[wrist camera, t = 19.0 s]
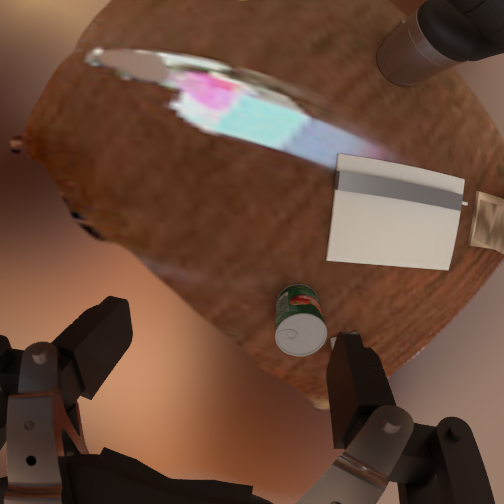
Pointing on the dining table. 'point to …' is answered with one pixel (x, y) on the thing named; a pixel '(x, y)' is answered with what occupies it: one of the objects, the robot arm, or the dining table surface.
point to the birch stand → (487, 222)
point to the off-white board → (392, 220)
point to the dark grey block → (397, 190)
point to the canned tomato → (299, 321)
